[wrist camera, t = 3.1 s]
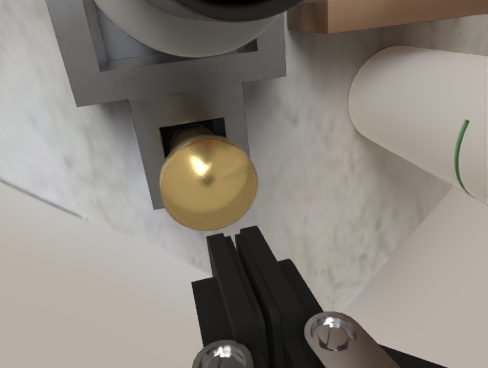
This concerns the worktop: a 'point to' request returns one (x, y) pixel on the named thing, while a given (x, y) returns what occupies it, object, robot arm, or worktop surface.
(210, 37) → the lotion bottle
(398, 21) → the rack
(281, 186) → the worktop surface
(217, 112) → the socket
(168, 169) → the pin
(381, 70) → the cylindrical container
